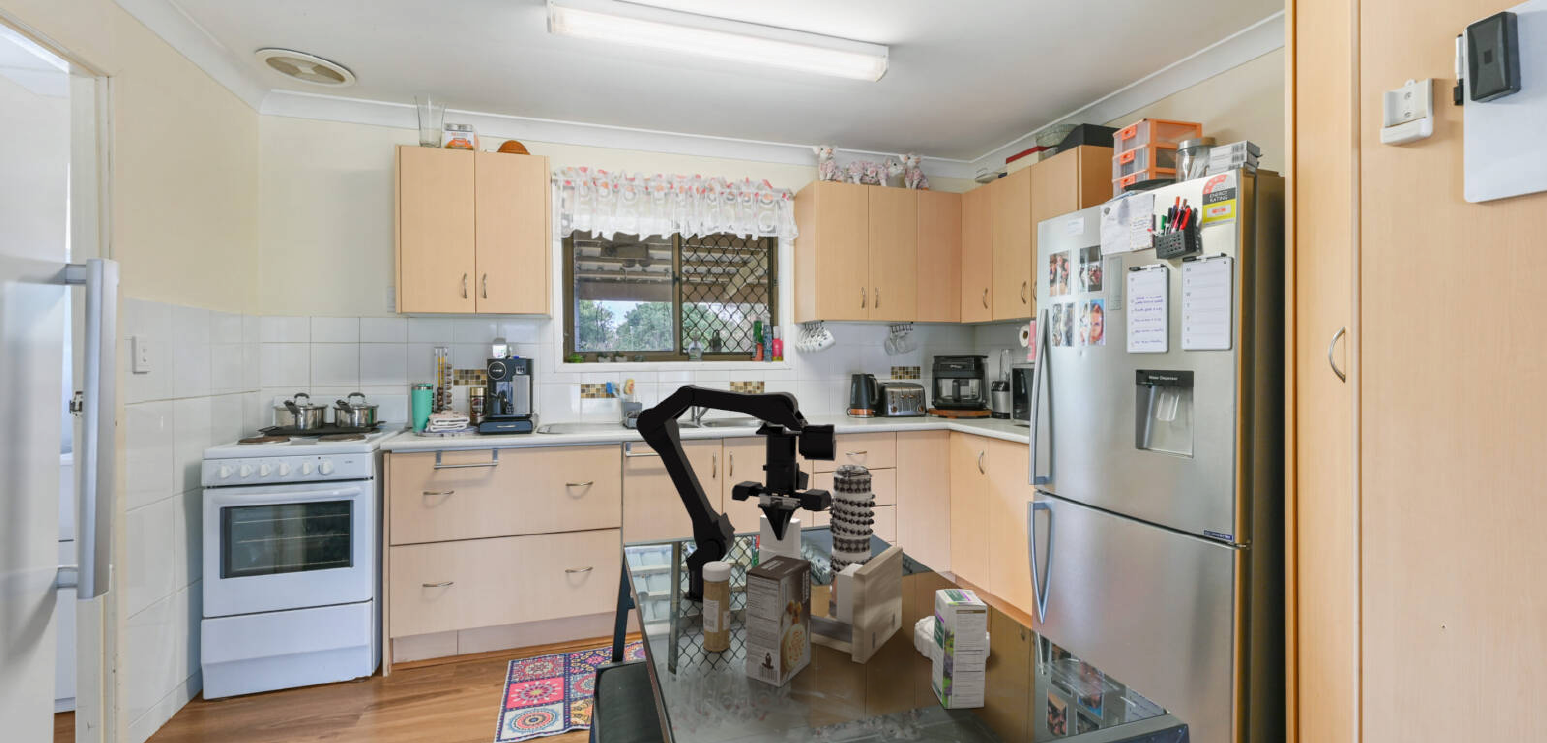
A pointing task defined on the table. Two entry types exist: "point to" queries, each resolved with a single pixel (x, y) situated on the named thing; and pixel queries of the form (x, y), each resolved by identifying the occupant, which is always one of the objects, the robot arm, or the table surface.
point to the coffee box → (778, 619)
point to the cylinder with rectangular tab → (782, 548)
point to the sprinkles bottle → (716, 606)
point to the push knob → (844, 593)
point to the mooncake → (932, 637)
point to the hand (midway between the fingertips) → (780, 540)
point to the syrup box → (959, 648)
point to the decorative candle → (851, 518)
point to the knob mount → (866, 609)
